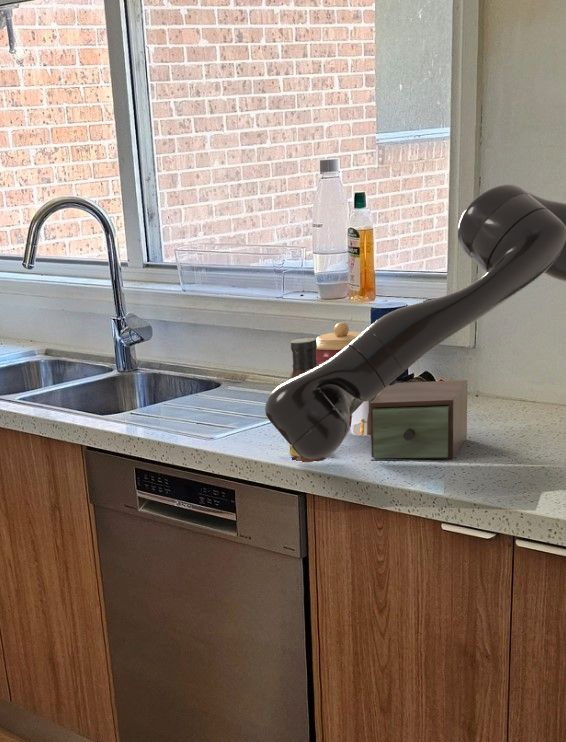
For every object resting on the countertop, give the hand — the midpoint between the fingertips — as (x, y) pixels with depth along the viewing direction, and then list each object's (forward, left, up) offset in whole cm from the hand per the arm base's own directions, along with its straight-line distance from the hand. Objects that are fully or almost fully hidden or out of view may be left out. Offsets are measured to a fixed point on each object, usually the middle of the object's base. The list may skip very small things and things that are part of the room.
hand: (363, 364), depth 178 cm
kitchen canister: (+14, -42, -18) cm, 48 cm away
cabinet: (-4, -20, -18) cm, 28 cm away
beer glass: (+7, -31, -18) cm, 37 cm away
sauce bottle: (+13, -14, -18) cm, 26 cm away
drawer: (-4, -18, -17) cm, 25 cm away
